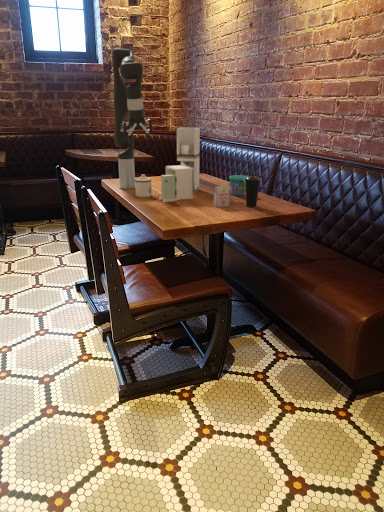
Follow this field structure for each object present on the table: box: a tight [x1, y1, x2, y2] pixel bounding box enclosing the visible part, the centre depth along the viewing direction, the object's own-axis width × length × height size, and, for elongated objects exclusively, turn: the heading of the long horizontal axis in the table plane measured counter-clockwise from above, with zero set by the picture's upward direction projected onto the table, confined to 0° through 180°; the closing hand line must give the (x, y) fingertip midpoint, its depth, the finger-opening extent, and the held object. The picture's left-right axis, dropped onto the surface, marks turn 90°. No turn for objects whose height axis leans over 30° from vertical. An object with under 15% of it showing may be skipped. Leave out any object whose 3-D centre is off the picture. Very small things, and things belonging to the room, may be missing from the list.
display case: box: [176, 127, 201, 194], centre depth 229 cm, size 11×11×35 cm
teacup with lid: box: [135, 174, 153, 198], centre depth 221 cm, size 12×9×12 cm
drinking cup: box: [245, 165, 261, 208], centre depth 197 cm, size 8×8×20 cm
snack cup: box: [228, 174, 249, 196], centre depth 224 cm, size 16×10×10 cm
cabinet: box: [158, 164, 194, 203], centre depth 214 cm, size 15×18×16 cm
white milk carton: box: [213, 185, 230, 208], centre depth 198 cm, size 4×7×10 cm, turn 108°
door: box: [160, 174, 175, 202], centre depth 209 cm, size 5×6×13 cm
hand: (139, 141), depth 203 cm, fingers open, 8 cm apart
